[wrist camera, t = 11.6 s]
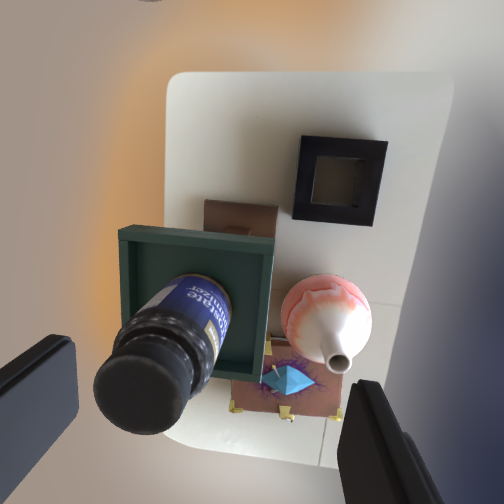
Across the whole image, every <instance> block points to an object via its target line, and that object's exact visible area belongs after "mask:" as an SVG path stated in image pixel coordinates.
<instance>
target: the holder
mask: <svg viewBox="0 0 504 504" xmlns="http://www.w3.org/2000/svg"><path fill="white" fill-rule="evenodd" d="M387 146H388V141H375V140H362V139H348V138H334V137H320V136H306V135H301V137H300V140H299V149H298V158H297V166H296V175H295V184H294V193H293V202H292V210H291V218H292V219H294V220H305V221H316V222H327V223H337V224H348V225H359V226H370V227H372V226H373V221H374V216H375V210H376V205H377V200H378V194H379V189H380V183H381V178H382V173H383V167H384V162H385V157H386V151H387ZM317 157H318V158H331V159H344V160H356V161H359V164H358V170H357V176H356V182H355V188H354V194H353V200H352V205H345V204H334V203H322V202H311V201H312V194H313V186H314V178H315V170H316V163H317Z"/></svg>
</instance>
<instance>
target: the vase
mask: <svg viewBox="0 0 504 504" xmlns="http://www.w3.org/2000/svg"><path fill="white" fill-rule="evenodd" d="M281 323H282V328H283V331H284V334H285V336H286V338H287V340H288V342H289V343H290V345H291V346H292V347H293V348H294V349H295V350H296V351H297V352H298V353H299V354H300V355H302V356H303V357H305V358H307V359H309V360H311V361H313V362H316V363H321V364H326V367H327V368H328V370H329V371H331V372H333V373H336V374H341V373H344V372H346V371H348V370H349V368H350V367H351V358H352V357H354V356H355V355H356V354H357V353H358V352H360V351H361V349H362V348H363V347H364V345H365V344H366V342H367V340H368V338H369V335H370V331H371V325H372V322H371V312H370V308H369V305H368V302H367V300H366V298H365V297H364V295H363V294H362V292H361V291H360V290H359V289H358V288H357V287H356V286H355V285H354V284H353V283H351V282H350V281H348V280H346V279H344V278H342V277H340V276H337V275H332V274H316V275H312V276H309V277H307V278H304V279H303V280H301V281H299V282H298V283H297V284H295V285H294V286H293V287H292V288H291V289H290V291H289V292H288V294H287V295H286V297H285V299H284V302H283V305H282V309H281Z"/></svg>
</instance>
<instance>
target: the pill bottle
mask: <svg viewBox="0 0 504 504" xmlns="http://www.w3.org/2000/svg"><path fill="white" fill-rule="evenodd" d="M232 313H233V304H232V300H231V297H230V295H229V293H228V291H227V289H226V288H225V287H224V286H223V284H222V283H221V282H220V281H218V280H217V279H216V278H214V277H212V276H209V275H203V274H201V273H199V272H190V273H185V274H181V275H179V276H177V277H176V278H174V279H173V280H171V281H170V282H169V283H168V284H167V285H166V286H165V287H164V288H163V289H162V290H161V291H160V292H158V293H157V294H156V295H155V296H154V297H153V298H152V299H151V300H150V301H149V302H148V303H147V304H146V305H145V306H144V307H142V308H141V309H140V310H139V311H138V312H137V313H136V314H135V315H134V316H133V317H132V318H131V319H130V320H129V321H127V322H126V323H125V324H124V325H123V327H122V328H121V329H120V330H119V332H118V334H117V336H116V338H115V341H114V345H113V351H112V355H111V356H110V357H109V358H108V359H107V360H106V361H105V363H104V364H103V365H102V366H101V367H100V369H99V370H98V372H97V374H96V376H95V379H94V385H93V391H94V397H95V400H96V403H97V405H98V407H99V409H100V411H101V412H102V413H103V415H104V416H105V417H106V418H107V419H108V420H110V422H111V423H113V424H114V425H115V426H117V427H119V428H121V429H123V430H125V431H128V432H131V433H134V434H140V435H154V434H158V433H160V432H164V431H166V430H167V429H169V428H171V427H172V426H173V425H174V424H175V423H176V422H177V421H178V419H179V418H180V416H181V414H182V412H183V410H184V408H185V406H186V404H187V402H188V400H189V399H191V398H193V397H195V396H196V395H197V394H198V393H199V392H201V390H202V389H203V388H204V387H205V385H206V384H207V383H208V381H209V379H210V376H211V373H212V371H213V368H214V365H215V362H216V359H217V357H218V354H219V351H220V348H221V346H222V343H223V340H224V337H225V335H226V332H227V329H228V326H229V324H230V321H231V317H232Z"/></svg>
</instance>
